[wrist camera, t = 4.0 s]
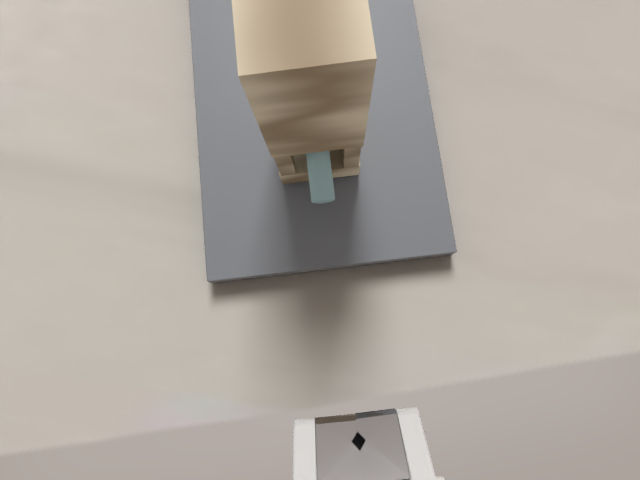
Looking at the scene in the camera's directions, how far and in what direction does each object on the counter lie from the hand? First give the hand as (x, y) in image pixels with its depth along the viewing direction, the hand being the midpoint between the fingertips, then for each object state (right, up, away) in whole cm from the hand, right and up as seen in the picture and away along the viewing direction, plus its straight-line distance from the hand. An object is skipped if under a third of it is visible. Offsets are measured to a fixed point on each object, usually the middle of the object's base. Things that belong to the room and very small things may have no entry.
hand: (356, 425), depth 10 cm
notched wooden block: (-1, +10, +14) cm, 17 cm away
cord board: (-2, +18, +17) cm, 25 cm away
